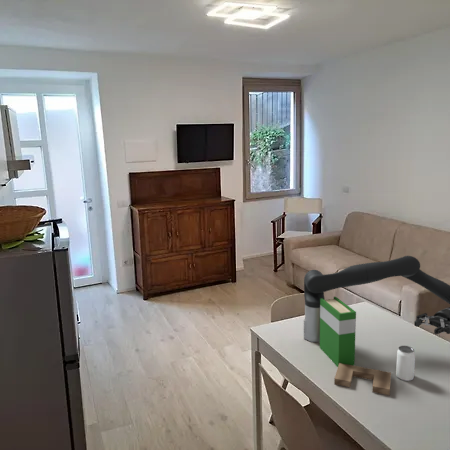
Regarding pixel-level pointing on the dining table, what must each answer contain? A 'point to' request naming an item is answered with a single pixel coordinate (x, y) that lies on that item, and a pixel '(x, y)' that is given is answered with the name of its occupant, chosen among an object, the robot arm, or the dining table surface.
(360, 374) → the notched board
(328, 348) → the hardback book
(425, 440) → the dining table surface
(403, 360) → the can
